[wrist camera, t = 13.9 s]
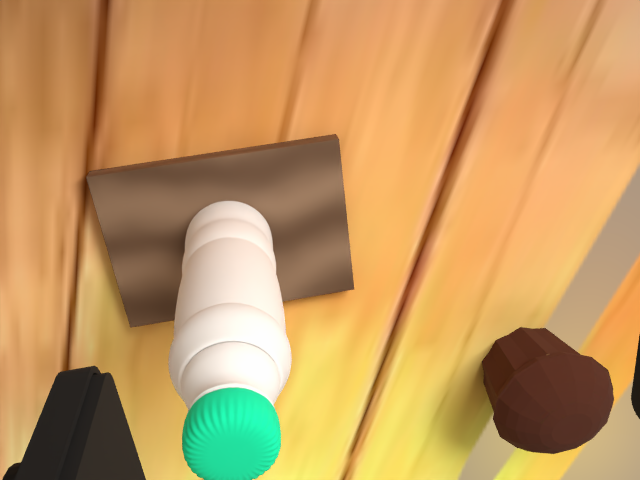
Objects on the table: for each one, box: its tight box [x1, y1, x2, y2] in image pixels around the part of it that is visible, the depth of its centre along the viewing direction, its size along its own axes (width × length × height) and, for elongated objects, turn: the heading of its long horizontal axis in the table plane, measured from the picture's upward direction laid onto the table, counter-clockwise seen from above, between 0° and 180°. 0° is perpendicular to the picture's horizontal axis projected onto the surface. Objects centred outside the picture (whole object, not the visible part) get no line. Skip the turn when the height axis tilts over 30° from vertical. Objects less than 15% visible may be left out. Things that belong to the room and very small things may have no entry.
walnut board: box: [86, 134, 354, 328], centre depth 52 cm, size 14×20×2 cm
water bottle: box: [169, 201, 291, 480], centre depth 40 cm, size 7×7×25 cm
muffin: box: [482, 327, 614, 454], centre depth 59 cm, size 12×11×10 cm
